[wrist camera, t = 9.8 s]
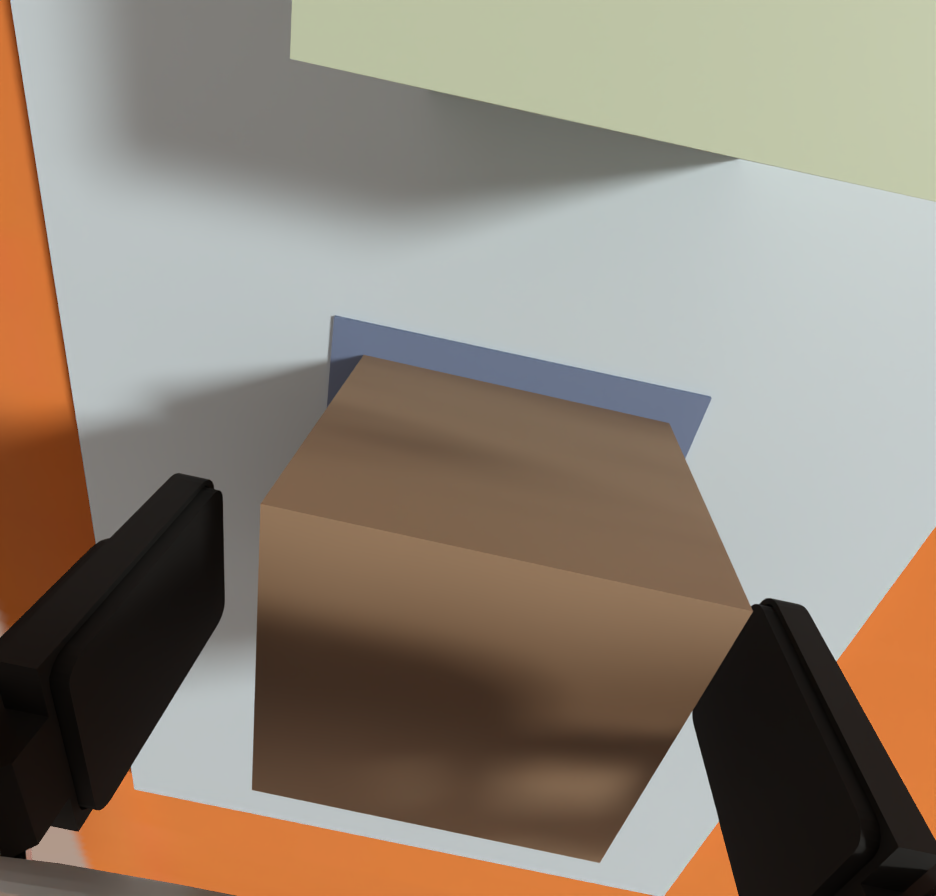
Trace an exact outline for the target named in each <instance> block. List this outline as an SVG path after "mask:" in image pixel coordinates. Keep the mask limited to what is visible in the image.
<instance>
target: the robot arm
mask: <svg viewBox="0 0 936 896" xmlns="http://www.w3.org/2000/svg"><path fill="white" fill-rule="evenodd" d="M224 606H225V581H224V529H223V495H222V492H221V491H220V490H216V489H214V484H213V482H212V481H211V480H209V479H205V478H200V477H195V476H191V475H186V474H181V473H176V474H174V475H172V476H171V477H170V478H169V479H168V480H167V481H166V482H165V483H164V484H163V485H162V486H161V487H160V488H159V489H158V490H157V491H156V492H155V493H154V494H153V495H152V496H151V497H150V498H149V499H148V500H147V501H146V502H145V503H144V504H143V505H142V506H141V507H140V508H139V509H138V510H137V511H136V512H135V513H134V514H133V515H132V516H131V517H130V518H129V519H128V520H127V521H126V522H125V523H124V524H123V525H122V526H121V527H120V528H119V529H118V530H117V531H116V532H115V533H114V534H113V535H112V536H111V537H110V538H107V539H104V540H101V541H99V542H98V543H97V544H95V545H94V546H93V547H92V548H91V549H90V550H89V551H88V552H87V553H85V554H84V555H83V556H82V557H81V558H80V559H79V560H78V561H77V562H76V563H75V564H74V565H73V566H72V567H71V568H70V569H69V570H68V571H67V572H66V573H65V574H64V575H63V576H62V577H61V578H60V579H59V580H58V581H57V582H56V583H55V584H54V585H53V586H52V587H51V588H50V589H49V590H48V591H47V592H46V593H45V594H44V595H43V596H42V597H41V598H40V599H39V600H38V601H37V602H36V603H35V604H34V605H33V606H32V607H31V608H30V609H29V610H28V611H27V612H26V613H25V614H24V615H23V616H22V617H21V618H20V619H19V620H18V621H17V622H16V623H15V624H14V625H13V626H12V627H11V628H10V629H9V630H8V631H7V632H5V633H4V634H3V635H2V636H1V637H0V896H235V895H229V894H224V893H219V892H214V891H209V890H204V889H199V888H194V887H189V886H184V885H179V884H173V883H167V882H162V881H156V880H150V879H145V878H139V877H133V876H128V875H122V874H116V873H111V872H105V871H99V870H94V869H88V868H82V867H76V866H70V865H65V864H59V863H51V862H42V861H35V860H32V852H31V848H32V847H34V846H36V845H38V844H39V842H40V841H41V839H42V838H43V836H44V835H45V833H46V832H47V830H48V829H49V827H50V826H53V827H58V828H63V829H68V830H73V831H79V830H80V828H81V827H82V825H83V824H84V822H85V820H86V819H87V817H88V816H89V814H90V812H91V811H92V809H95V810H101V809H103V808H104V807H105V806H106V805H107V804H108V802H109V801H110V800H111V798H112V797H113V795H114V793H115V792H116V790H117V788H118V787H119V785H120V784H121V782H122V780H123V779H124V777H125V775H126V774H127V772H128V771H129V769H130V767H131V766H132V764H133V762H134V761H135V759H136V757H137V756H138V754H139V753H140V751H141V749H142V748H143V746H144V744H145V743H146V741H147V740H148V738H149V736H150V735H151V733H152V731H153V730H154V728H155V726H156V725H157V723H158V722H159V720H160V718H161V717H162V715H163V713H164V712H165V710H166V709H167V707H168V705H169V704H170V702H171V700H172V699H173V697H174V695H175V694H176V692H177V691H178V689H179V687H180V686H181V684H182V682H183V681H184V679H185V678H186V676H187V674H188V673H189V671H190V669H191V668H192V666H193V664H194V663H195V661H196V660H197V658H198V656H199V655H200V653H201V651H202V650H203V648H204V647H205V645H206V643H207V642H208V640H209V638H210V637H211V635H212V633H213V632H214V630H215V629H216V627H217V625H218V623H219V622H220V619H221V617H222V614H223V611H224ZM751 608H752V610H753V612H752V614H751V615H750V617H749V619H748V620H747V622H746V624H745V625H744V627H743V629H742V630H741V632H740V634H739V635H738V637H737V638H736V640H735V642H734V643H733V645H732V647H731V648H730V650H729V652H728V653H727V655H726V657H725V658H724V660H723V661H722V663H721V665H720V666H719V668H718V670H717V671H716V673H715V675H714V676H713V678H712V680H711V681H710V683H709V684H708V686H707V688H706V689H705V691H704V693H703V694H702V696H701V698H700V699H699V701H698V702H697V704H696V706H695V707H694V709H693V711H692V719H693V724H694V728H695V732H696V736H697V740H698V743H699V747H700V751H701V755H702V758H703V762H704V766H705V770H706V773H707V777H708V781H709V785H710V789H711V792H712V796H713V800H714V804H715V807H716V811H717V815H718V819H719V822H720V826H721V830H722V834H723V838H724V841H725V845H726V849H727V853H728V856H729V860H730V864H731V868H732V872H733V875H734V879H735V883H736V887H737V890H738V894H739V896H936V840H935V839H934V837H933V835H932V833H931V831H930V830H929V828H928V826H927V824H926V822H925V821H924V819H923V817H922V815H921V813H920V812H919V810H918V808H917V806H916V804H915V803H914V801H913V799H912V797H911V795H910V794H909V792H908V790H907V788H906V786H905V785H904V783H903V781H902V779H901V777H900V776H899V774H898V772H897V770H896V768H895V767H894V765H893V763H892V761H891V759H890V758H889V756H888V754H887V752H886V750H885V749H884V747H883V745H882V743H881V741H880V740H879V738H878V736H877V734H876V732H875V731H874V729H873V727H872V725H871V723H870V722H869V720H868V718H867V716H866V714H865V713H864V711H863V709H862V707H861V705H860V704H859V702H858V700H857V698H856V696H855V695H854V693H853V691H852V689H851V687H850V686H849V684H848V682H847V680H846V678H845V677H844V675H843V673H842V671H841V669H840V668H839V666H838V664H837V662H836V660H835V659H834V657H833V655H832V653H831V651H830V650H829V648H828V646H827V644H826V642H825V641H824V639H823V637H822V635H821V633H820V632H819V630H818V628H817V626H816V624H815V623H814V621H813V619H812V617H811V615H810V614H809V612H808V610H807V609H806V608H805V607H804V606H802V605H800V604H796V603H791V602H786V601H782V600H777V599H772V598H766V599H764V600H763V601H762V602H761V603H760V604H754V605H752V606H751Z"/></svg>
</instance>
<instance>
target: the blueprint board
mask: <svg viewBox="0 0 936 896" xmlns="http://www.w3.org/2000/svg"><path fill="white" fill-rule="evenodd" d="M10 2H11V8H12V14H13V21H14V27H15V34H16V40H17V46H18V53H19V59H20V65H21V72H22V78H23V84H24V91H25V97H26V103H27V110H28V116H29V122H30V129H31V135H32V142H33V148H34V154H35V161H36V167H37V173H38V180H39V186H40V192H41V199H42V205H43V211H44V218H45V224H46V230H47V237H48V243H49V249H50V256H51V262H52V269H53V275H54V281H55V288H56V294H57V300H58V307H59V313H60V319H61V326H62V332H63V338H64V345H65V351H66V357H67V364H68V370H69V376H70V383H71V389H72V396H73V402H74V408H75V415H76V421H77V427H78V434H79V440H80V446H81V453H82V459H83V465H84V472H85V478H86V484H87V491H88V497H89V503H90V510H91V516H92V523H93V529H94V535H95V542H96V544H97V543H98V542H99V541H101V540H104V539H107V538H110V537H111V536H112V535H113V534H114V533H115V532H116V531H117V530H118V529H119V528H120V527H121V526H122V525H123V524H124V523H125V522H126V521H127V520H128V519H129V518H130V517H131V516H132V515H133V514H134V513H135V512H136V511H137V510H138V509H139V508H140V507H141V506H142V505H143V504H144V503H145V502H146V501H147V500H148V499H149V498H150V497H151V496H152V495H153V494H154V493H155V492H156V491H157V490H158V489H159V488H160V487H161V486H162V485H163V484H164V483H165V482H166V481H167V480H168V479H169V478H170V477H171V476H172V475H174V474H176V473H181V474H186V475H191V476H195V477H200V478H205V479H209V480H211V481H212V482H213V484H214V489H216V490H220V491H221V492H222V495H223V529H224V581H225V606H224V611H223V614H222V617H221V619H220V622H219V623H218V625H217V627H216V629H215V630H214V632H213V633H212V635H211V637H210V638H209V640H208V642H207V643H206V645H205V647H204V648H203V650H202V651H201V653H200V655H199V656H198V658H197V660H196V661H195V663H194V664H193V666H192V668H191V669H190V671H189V673H188V674H187V676H186V678H185V679H184V681H183V682H182V684H181V686H180V687H179V689H178V691H177V692H176V694H175V695H174V697H173V699H172V700H171V702H170V704H169V705H168V707H167V709H166V710H165V712H164V713H163V715H162V717H161V718H160V720H159V722H158V723H157V725H156V726H155V728H154V730H153V731H152V733H151V735H150V736H149V738H148V740H147V741H146V743H145V744H144V746H143V748H142V749H141V751H140V753H139V754H138V756H137V757H136V759H135V761H134V762H133V764H132V766H131V770H132V777H133V783H134V789H135V790H140V791H145V792H150V793H155V794H160V795H165V796H169V797H174V798H179V799H184V800H189V801H194V802H199V803H204V804H209V805H214V806H218V807H223V808H228V809H233V810H238V811H243V812H248V813H253V814H258V815H263V816H267V817H272V818H277V819H282V820H287V821H292V822H297V823H302V824H307V825H312V826H316V827H321V828H326V829H331V830H336V831H341V832H346V833H351V834H356V835H360V836H365V837H370V838H375V839H380V840H385V841H390V842H395V843H400V844H405V845H409V846H414V847H419V848H424V849H429V850H434V851H439V852H444V853H449V854H454V855H458V856H463V857H468V858H473V859H478V860H483V861H488V862H493V863H498V864H503V865H507V866H512V867H517V868H522V869H527V870H532V871H537V872H542V873H547V874H552V875H556V876H561V877H566V878H571V879H576V880H581V881H586V882H591V883H596V884H601V885H605V886H610V887H615V888H620V889H625V890H630V891H635V892H640V893H645V894H650V895H654V896H664V895H665V894H666V892H667V891H668V890H669V888H670V887H671V886H672V884H673V883H674V882H675V880H676V879H677V877H678V876H679V875H680V873H681V872H682V871H683V869H684V868H685V867H686V865H687V864H688V862H689V861H690V860H691V858H692V857H693V856H694V854H695V853H696V852H697V850H698V849H699V847H700V846H701V845H702V843H703V842H704V841H705V839H706V838H707V837H708V835H709V834H710V833H711V831H712V830H713V828H714V827H715V826H716V824H717V823H718V822H719V819H718V815H717V811H716V807H715V804H714V800H713V796H712V792H711V789H710V785H709V781H708V777H707V773H706V770H705V766H704V762H703V758H702V755H701V751H700V747H699V743H698V740H697V736H696V732H695V728H694V724H693V719H692V712H691V714H690V716H689V717H688V719H687V721H686V722H685V724H684V725H683V727H682V729H681V730H680V732H679V734H678V735H677V737H676V739H675V740H674V742H673V744H672V745H671V747H670V748H669V750H668V752H667V753H666V755H665V757H664V758H663V760H662V762H661V763H660V765H659V767H658V768H657V770H656V771H655V773H654V775H653V776H652V778H651V780H650V781H649V783H648V785H647V786H646V788H645V790H644V791H643V793H642V794H641V796H640V798H639V799H638V801H637V803H636V804H635V806H634V808H633V809H632V811H631V813H630V814H629V816H628V817H627V819H626V821H625V822H624V824H623V826H622V827H621V829H620V831H619V832H618V834H617V835H616V837H615V839H614V840H613V842H612V844H611V845H610V847H609V849H608V850H607V852H606V854H605V855H604V857H603V858H602V860H601V862H600V863H597V862H592V861H587V860H583V859H578V858H573V857H568V856H564V855H559V854H554V853H549V852H545V851H540V850H535V849H530V848H526V847H521V846H516V845H511V844H506V843H502V842H497V841H492V840H487V839H483V838H478V837H473V836H468V835H464V834H459V833H454V832H449V831H445V830H440V829H435V828H430V827H425V826H421V825H416V824H411V823H406V822H402V821H397V820H392V819H387V818H383V817H378V816H373V815H368V814H364V813H359V812H354V811H349V810H344V809H340V808H335V807H330V806H325V805H321V804H316V803H311V802H306V801H302V800H297V799H292V798H287V797H283V796H278V795H273V794H268V793H263V792H259V791H254V790H252V765H253V732H254V699H255V667H256V634H257V601H258V568H259V535H260V504H261V502H262V501H263V499H264V498H265V496H266V495H267V494H268V492H269V491H270V489H271V488H272V486H273V485H274V484H275V482H276V481H277V479H278V478H279V476H280V475H281V473H282V472H283V471H284V469H285V468H286V466H287V465H288V463H289V462H290V460H291V459H292V458H293V456H294V455H295V453H296V452H297V450H298V449H299V447H300V446H301V445H302V443H303V442H304V440H305V439H306V437H307V436H308V434H309V433H310V432H311V430H312V429H313V427H314V426H315V424H316V423H317V422H318V420H319V419H320V417H321V416H322V414H323V413H324V411H325V410H326V409H327V407H328V406H329V404H330V403H331V401H332V400H333V398H334V397H335V396H336V394H337V393H338V391H339V390H340V388H341V387H342V385H343V384H344V383H345V381H346V380H347V378H348V377H349V375H350V374H351V372H352V371H353V370H354V368H355V367H356V365H357V364H358V362H359V361H360V360H361V358H362V357H363V355H367V356H372V357H376V358H381V359H385V360H390V361H394V362H399V363H403V364H407V365H412V366H416V367H421V368H425V369H430V370H434V371H439V372H443V373H448V374H452V375H457V376H461V377H466V378H470V379H475V380H479V381H483V382H488V383H492V384H497V385H501V386H506V387H510V388H515V389H519V390H524V391H528V392H533V393H537V394H542V395H546V396H550V397H555V398H559V399H564V400H568V401H573V402H577V403H582V404H586V405H591V406H595V407H600V408H604V409H609V410H613V411H618V412H622V413H626V414H631V415H635V416H640V417H644V418H649V419H653V420H658V421H662V422H667V423H669V424H670V426H671V428H672V430H673V433H674V435H675V437H676V439H677V442H678V444H679V446H680V448H681V451H682V453H683V455H684V457H685V460H686V462H687V464H688V466H689V469H690V471H691V473H692V475H693V478H694V480H695V482H696V484H697V487H698V489H699V491H700V493H701V496H702V498H703V500H704V502H705V505H706V507H707V509H708V511H709V514H710V516H711V518H712V520H713V523H714V525H715V527H716V529H717V532H718V534H719V536H720V538H721V541H722V543H723V545H724V547H725V550H726V552H727V554H728V556H729V559H730V561H731V563H732V565H733V568H734V570H735V572H736V574H737V577H738V579H739V581H740V583H741V586H742V588H743V590H744V592H745V595H746V597H747V599H748V601H749V604H750V606H752V605H754V604H760V603H761V602H762V601H763V600H764V599H766V598H772V599H777V600H782V601H786V602H791V603H796V604H800V605H802V606H804V607H805V608H806V609H807V610H808V612H809V614H810V615H811V617H812V619H813V621H814V623H815V624H816V626H817V628H818V630H819V632H820V633H821V635H822V637H823V639H824V641H825V642H826V644H827V646H828V648H829V650H830V651H831V653H832V655H833V657H834V659H835V660H836V661H837V660H838V658H839V657H840V656H841V654H842V653H843V652H844V650H845V649H846V648H847V646H848V645H849V643H850V642H851V641H852V639H853V638H854V637H855V635H856V634H857V633H858V631H859V630H860V628H861V627H862V626H863V624H864V623H865V622H866V620H867V619H868V618H869V616H870V615H871V613H872V612H873V611H874V609H875V608H876V607H877V605H878V604H879V603H880V601H881V600H882V599H883V597H884V596H885V594H886V593H887V592H888V590H889V589H890V588H891V586H892V585H893V584H894V582H895V581H896V579H897V578H898V577H899V575H900V574H901V573H902V571H903V570H904V569H905V567H906V566H907V565H908V563H909V562H910V560H911V559H912V558H913V556H914V555H915V554H916V552H917V551H918V550H919V548H920V547H921V545H922V544H923V543H924V541H925V540H926V539H927V537H928V536H929V535H930V533H931V532H932V531H933V529H934V528H935V526H936V202H934V201H930V200H925V199H921V198H916V197H912V196H907V195H903V194H898V193H893V192H889V191H884V190H880V189H875V188H871V187H866V186H861V185H857V184H852V183H848V182H843V181H839V180H834V179H830V178H825V177H820V176H816V175H811V174H807V173H802V172H798V171H793V170H788V169H784V168H779V167H775V166H770V165H766V164H761V163H757V162H752V161H747V160H743V159H738V158H734V157H729V156H725V155H720V154H716V153H711V152H707V151H702V150H698V149H693V148H689V147H684V146H680V145H675V144H671V143H666V142H661V141H657V140H652V139H648V138H643V137H639V136H634V135H630V134H625V133H621V132H616V131H612V130H607V129H603V128H598V127H594V126H589V125H585V124H580V123H576V122H571V121H567V120H562V119H558V118H553V117H549V116H544V115H539V114H535V113H530V112H526V111H521V110H517V109H512V108H508V107H503V106H499V105H494V104H490V103H485V102H481V101H476V100H472V99H467V98H463V97H458V96H454V95H449V94H445V93H440V92H436V91H431V90H427V89H422V88H418V87H413V86H409V85H404V84H400V83H396V82H391V81H387V80H382V79H378V78H373V77H369V76H364V75H360V74H356V73H351V72H347V71H342V70H338V69H333V68H329V67H325V66H320V65H316V64H311V63H307V62H302V61H298V60H294V59H290V43H291V13H292V0H10Z"/></svg>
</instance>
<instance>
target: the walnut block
mask: <svg viewBox="0 0 936 896" xmlns="http://www.w3.org/2000/svg"><path fill="white" fill-rule="evenodd" d="M752 612H753V610H752V608H751V606H750V604H749V601H748V599H747V597H746V595H745V592H744V590H743V588H742V586H741V583H740V581H739V579H738V577H737V574H736V572H735V570H734V568H733V565H732V563H731V561H730V559H729V556H728V554H727V552H726V550H725V547H724V545H723V543H722V541H721V538H720V536H719V534H718V532H717V529H716V527H715V525H714V523H713V520H712V518H711V516H710V514H709V511H708V509H707V507H706V505H705V502H704V500H703V498H702V496H701V493H700V491H699V489H698V487H697V484H696V482H695V480H694V478H693V475H692V473H691V471H690V469H689V466H688V464H687V462H686V460H685V457H684V455H683V453H682V451H681V448H680V446H679V444H678V442H677V439H676V437H675V435H674V433H673V430H672V428H671V426H670V424H669V423H667V422H662V421H658V420H653V419H649V418H644V417H640V416H635V415H631V414H626V413H622V412H618V411H613V410H609V409H604V408H600V407H595V406H591V405H586V404H582V403H577V402H573V401H568V400H564V399H559V398H555V397H550V396H546V395H542V394H537V393H533V392H528V391H524V390H519V389H515V388H510V387H506V386H501V385H497V384H492V383H488V382H483V381H479V380H475V379H470V378H466V377H461V376H457V375H452V374H448V373H443V372H439V371H434V370H430V369H425V368H421V367H416V366H412V365H407V364H403V363H399V362H394V361H390V360H385V359H381V358H376V357H372V356H367V355H363V357H362V358H361V360H360V361H359V362H358V364H357V365H356V367H355V368H354V370H353V371H352V372H351V374H350V375H349V377H348V378H347V380H346V381H345V383H344V384H343V385H342V387H341V388H340V390H339V391H338V393H337V394H336V396H335V397H334V398H333V400H332V401H331V403H330V404H329V406H328V407H327V409H326V410H325V411H324V413H323V414H322V416H321V417H320V419H319V420H318V422H317V423H316V424H315V426H314V427H313V429H312V430H311V432H310V433H309V434H308V436H307V437H306V439H305V440H304V442H303V443H302V445H301V446H300V447H299V449H298V450H297V452H296V453H295V455H294V456H293V458H292V459H291V460H290V462H289V463H288V465H287V466H286V468H285V469H284V471H283V472H282V473H281V475H280V476H279V478H278V479H277V481H276V482H275V484H274V485H273V486H272V488H271V489H270V491H269V492H268V494H267V495H266V496H265V498H264V499H263V501H262V502H261V504H260V535H259V568H258V601H257V634H256V667H255V699H254V732H253V765H252V790H254V791H259V792H263V793H268V794H273V795H278V796H283V797H287V798H292V799H297V800H302V801H306V802H311V803H316V804H321V805H325V806H330V807H335V808H340V809H344V810H349V811H354V812H359V813H364V814H368V815H373V816H378V817H383V818H387V819H392V820H397V821H402V822H406V823H411V824H416V825H421V826H425V827H430V828H435V829H440V830H445V831H449V832H454V833H459V834H464V835H468V836H473V837H478V838H483V839H487V840H492V841H497V842H502V843H506V844H511V845H516V846H521V847H526V848H530V849H535V850H540V851H545V852H549V853H554V854H559V855H564V856H568V857H573V858H578V859H583V860H587V861H592V862H597V863H600V862H601V860H602V858H603V857H604V855H605V854H606V852H607V850H608V849H609V847H610V845H611V844H612V842H613V840H614V839H615V837H616V835H617V834H618V832H619V831H620V829H621V827H622V826H623V824H624V822H625V821H626V819H627V817H628V816H629V814H630V813H631V811H632V809H633V808H634V806H635V804H636V803H637V801H638V799H639V798H640V796H641V794H642V793H643V791H644V790H645V788H646V786H647V785H648V783H649V781H650V780H651V778H652V776H653V775H654V773H655V771H656V770H657V768H658V767H659V765H660V763H661V762H662V760H663V758H664V757H665V755H666V753H667V752H668V750H669V748H670V747H671V745H672V744H673V742H674V740H675V739H676V737H677V735H678V734H679V732H680V730H681V729H682V727H683V725H684V724H685V722H686V721H687V719H688V717H689V716H690V714H691V712H692V711H693V709H694V707H695V706H696V704H697V702H698V701H699V699H700V698H701V696H702V694H703V693H704V691H705V689H706V688H707V686H708V684H709V683H710V681H711V680H712V678H713V676H714V675H715V673H716V671H717V670H718V668H719V666H720V665H721V663H722V661H723V660H724V658H725V657H726V655H727V653H728V652H729V650H730V648H731V647H732V645H733V643H734V642H735V640H736V638H737V637H738V635H739V634H740V632H741V630H742V629H743V627H744V625H745V624H746V622H747V620H748V619H749V617H750V615H751V614H752Z"/></svg>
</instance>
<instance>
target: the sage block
mask: <svg viewBox="0 0 936 896" xmlns="http://www.w3.org/2000/svg"><path fill="white" fill-rule="evenodd" d="M290 59H294V60H298V61H302V62H307V63H311V64H316V65H320V66H325V67H329V68H333V69H338V70H342V71H347V72H351V73H356V74H360V75H364V76H369V77H373V78H378V79H382V80H387V81H391V82H396V83H400V84H404V85H409V86H413V87H418V88H422V89H427V90H431V91H436V92H440V93H445V94H449V95H454V96H458V97H463V98H467V99H472V100H476V101H481V102H485V103H490V104H494V105H499V106H503V107H508V108H512V109H517V110H521V111H526V112H530V113H535V114H539V115H544V116H549V117H553V118H558V119H562V120H567V121H571V122H576V123H580V124H585V125H589V126H594V127H598V128H603V129H607V130H612V131H616V132H621V133H625V134H630V135H634V136H639V137H643V138H648V139H652V140H657V141H661V142H666V143H671V144H675V145H680V146H684V147H689V148H693V149H698V150H702V151H707V152H711V153H716V154H720V155H725V156H729V157H734V158H738V159H743V160H747V161H752V162H757V163H761V164H766V165H770V166H775V167H779V168H784V169H788V170H793V171H798V172H802V173H807V174H811V175H816V176H820V177H825V178H830V179H834V180H839V181H843V182H848V183H852V184H857V185H861V186H866V187H871V188H875V189H880V190H884V191H889V192H893V193H898V194H903V195H907V196H912V197H916V198H921V199H925V200H930V201H934V202H936V0H292V13H291V43H290Z"/></svg>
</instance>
